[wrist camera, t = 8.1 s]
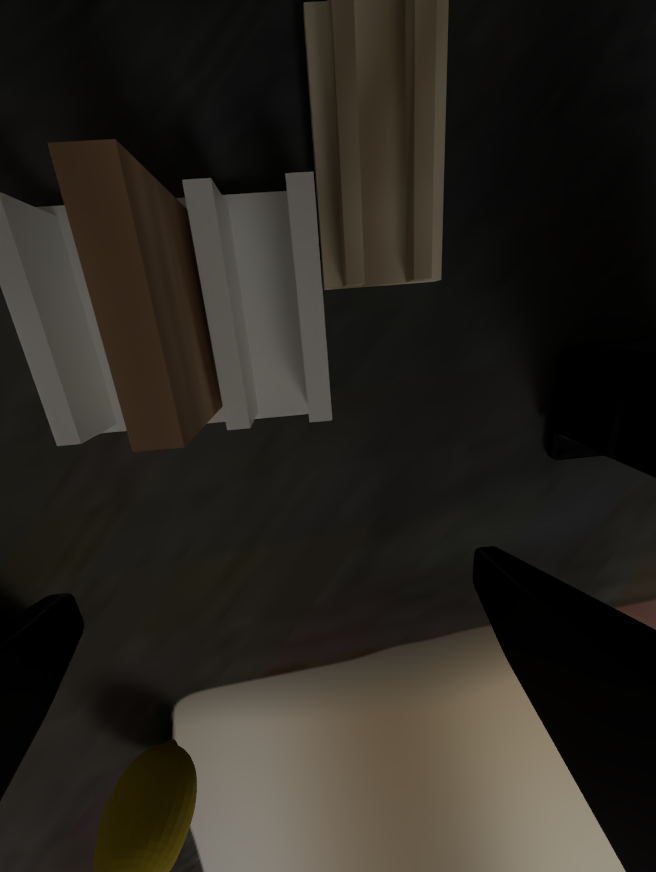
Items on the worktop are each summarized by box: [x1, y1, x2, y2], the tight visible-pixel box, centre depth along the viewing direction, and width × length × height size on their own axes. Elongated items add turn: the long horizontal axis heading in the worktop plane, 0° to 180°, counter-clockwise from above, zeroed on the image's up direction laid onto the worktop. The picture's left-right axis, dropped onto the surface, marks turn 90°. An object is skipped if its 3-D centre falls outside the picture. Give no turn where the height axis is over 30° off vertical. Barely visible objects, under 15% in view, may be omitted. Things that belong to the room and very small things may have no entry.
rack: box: [0, 172, 332, 446], centre depth 15 cm, size 12×10×4 cm
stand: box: [304, 0, 449, 290], centre depth 14 cm, size 6×10×2 cm, turn 4°
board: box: [47, 139, 223, 452], centre depth 13 cm, size 2×8×7 cm, turn 4°
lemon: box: [94, 739, 197, 872], centre depth 22 cm, size 6×6×8 cm
